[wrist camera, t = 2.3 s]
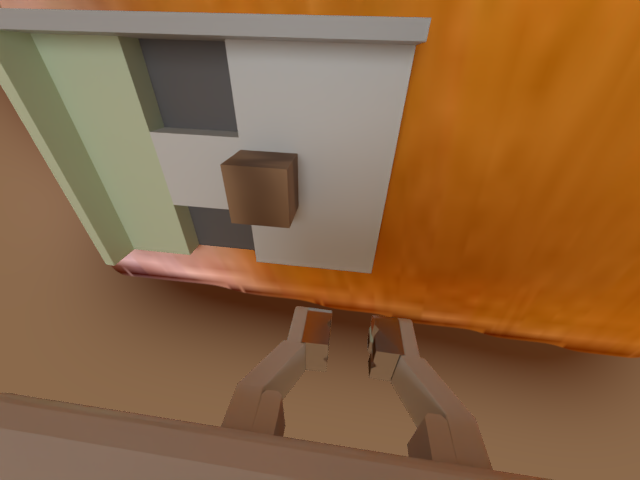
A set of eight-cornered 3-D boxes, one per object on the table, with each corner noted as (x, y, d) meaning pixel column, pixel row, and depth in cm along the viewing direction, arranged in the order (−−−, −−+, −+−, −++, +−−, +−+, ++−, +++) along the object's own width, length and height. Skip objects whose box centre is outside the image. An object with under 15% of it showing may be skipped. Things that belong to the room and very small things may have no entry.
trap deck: (412, 29, 18) (431, 17, 14) (370, 259, 30) (372, 293, 26) (43, 20, 20) (-45, 7, 16) (141, 236, 32) (106, 264, 28)
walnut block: (297, 153, 21) (287, 169, 18) (298, 206, 24) (289, 228, 21) (240, 149, 22) (220, 164, 19) (248, 202, 25) (231, 223, 21)
